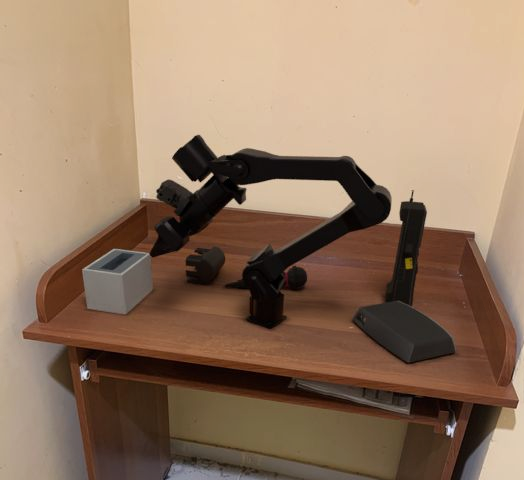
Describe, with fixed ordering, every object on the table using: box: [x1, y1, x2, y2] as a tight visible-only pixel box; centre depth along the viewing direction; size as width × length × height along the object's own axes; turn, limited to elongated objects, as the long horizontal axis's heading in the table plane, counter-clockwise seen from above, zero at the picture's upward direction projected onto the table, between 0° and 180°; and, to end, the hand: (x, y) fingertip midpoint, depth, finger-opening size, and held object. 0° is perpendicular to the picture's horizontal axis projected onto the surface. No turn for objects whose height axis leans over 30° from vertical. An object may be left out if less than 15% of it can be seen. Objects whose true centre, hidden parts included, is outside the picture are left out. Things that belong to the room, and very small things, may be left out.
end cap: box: [185, 245, 226, 285], centre depth 129 cm, size 10×7×7 cm
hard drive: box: [352, 301, 457, 363], centre depth 106 cm, size 13×19×4 cm
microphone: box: [224, 265, 308, 291], centre depth 125 cm, size 6×6×20 cm
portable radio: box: [384, 189, 428, 307], centre depth 116 cm, size 8×6×25 cm
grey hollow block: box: [81, 248, 154, 315], centre depth 115 cm, size 9×14×9 cm
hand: (160, 248), depth 109 cm, fingers open, 9 cm apart
